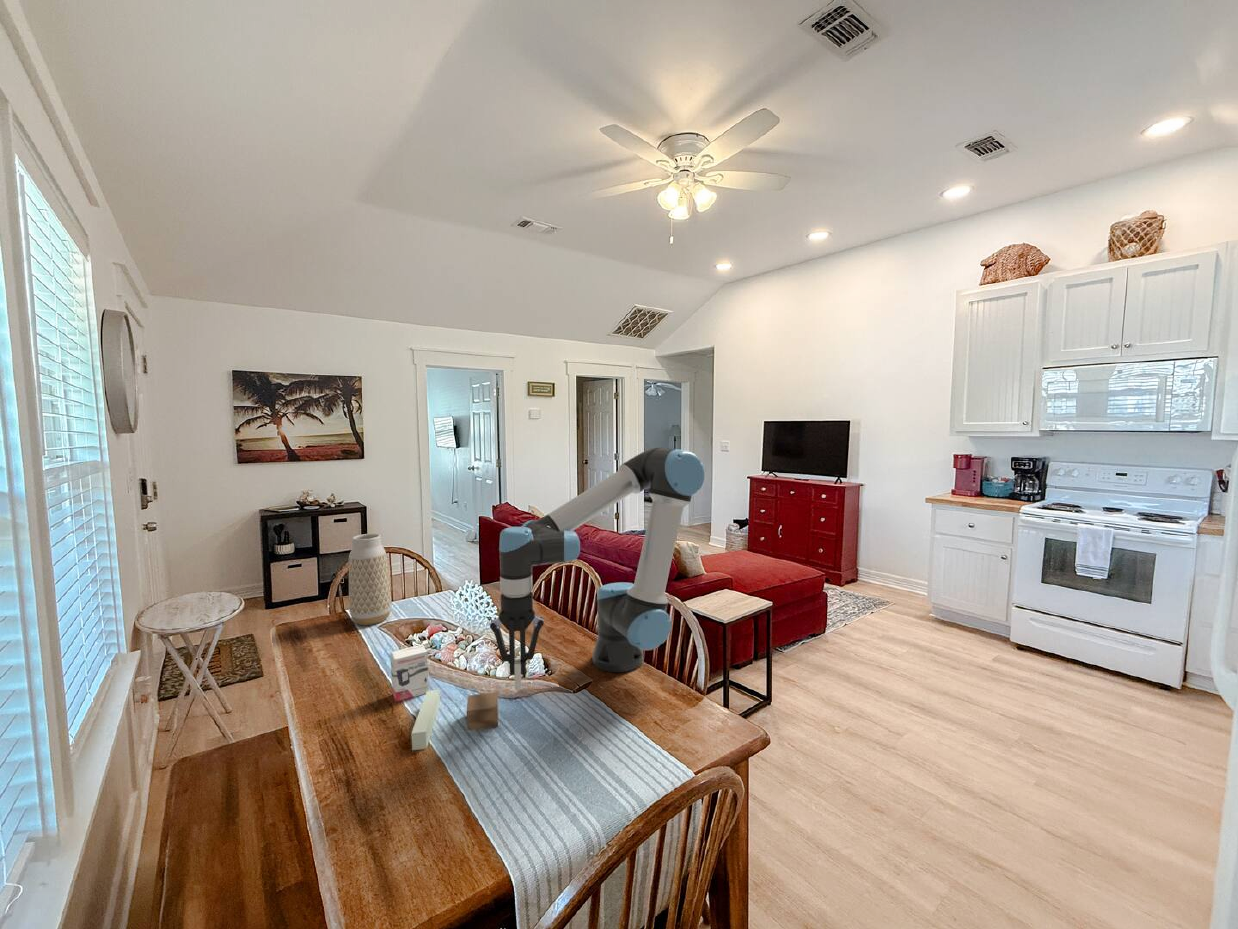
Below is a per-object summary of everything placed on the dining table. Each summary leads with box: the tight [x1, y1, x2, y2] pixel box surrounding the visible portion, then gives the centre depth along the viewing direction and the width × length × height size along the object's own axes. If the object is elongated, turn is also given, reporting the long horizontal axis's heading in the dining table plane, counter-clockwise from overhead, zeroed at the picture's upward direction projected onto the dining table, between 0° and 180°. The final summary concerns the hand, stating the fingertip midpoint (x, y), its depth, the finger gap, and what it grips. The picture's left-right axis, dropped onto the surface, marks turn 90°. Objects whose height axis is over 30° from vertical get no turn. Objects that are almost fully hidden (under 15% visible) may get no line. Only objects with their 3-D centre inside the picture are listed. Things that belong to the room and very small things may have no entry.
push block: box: [465, 691, 499, 731], centre depth 129 cm, size 7×7×5 cm
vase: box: [348, 533, 392, 626], centre depth 190 cm, size 14×14×31 cm
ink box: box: [389, 644, 430, 703], centre depth 141 cm, size 8×5×12 cm, turn 123°
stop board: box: [411, 689, 441, 751], centre depth 127 cm, size 3×18×4 cm, turn 9°
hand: (518, 686), depth 129 cm, fingers closed
